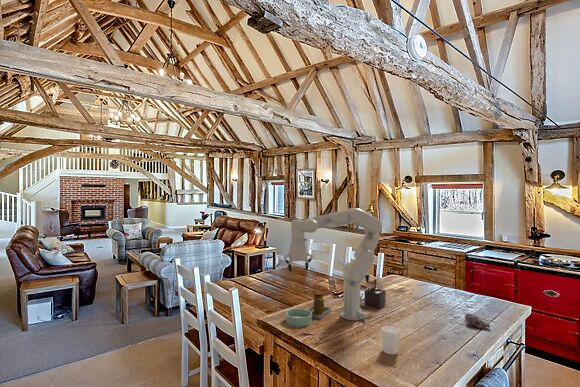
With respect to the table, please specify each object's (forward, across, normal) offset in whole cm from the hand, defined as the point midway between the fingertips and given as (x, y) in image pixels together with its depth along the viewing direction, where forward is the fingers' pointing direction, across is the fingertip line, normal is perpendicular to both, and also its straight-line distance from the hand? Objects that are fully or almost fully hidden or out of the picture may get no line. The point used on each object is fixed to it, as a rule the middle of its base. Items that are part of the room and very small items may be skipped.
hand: (298, 270), depth 187 cm
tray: (+27, -12, -4) cm, 30 cm away
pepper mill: (+29, -52, -15) cm, 61 cm away
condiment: (+28, -12, -4) cm, 30 cm away
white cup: (+28, -33, +46) cm, 63 cm away
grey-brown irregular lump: (+30, -93, +28) cm, 102 cm away
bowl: (+27, +1, +6) cm, 28 cm away
